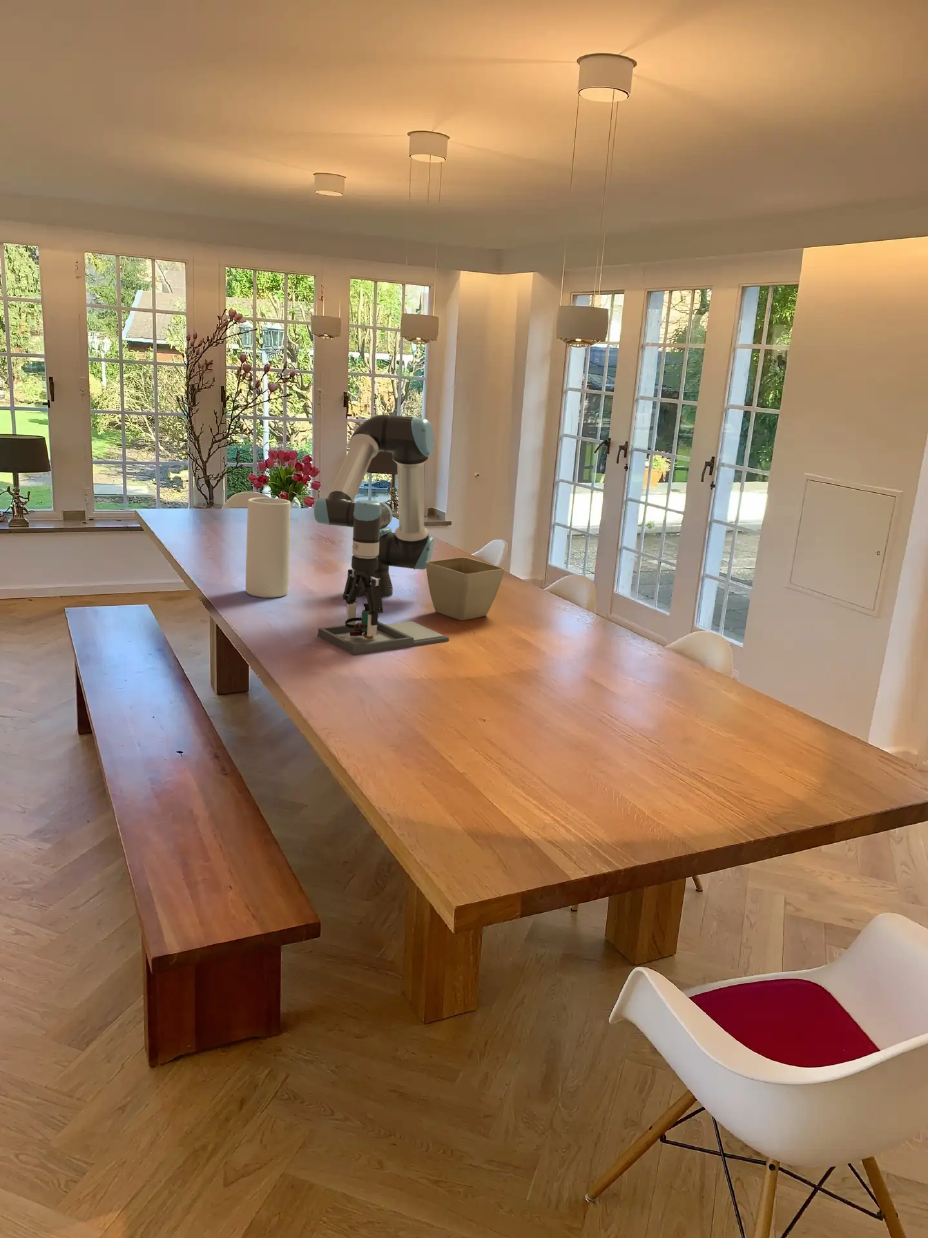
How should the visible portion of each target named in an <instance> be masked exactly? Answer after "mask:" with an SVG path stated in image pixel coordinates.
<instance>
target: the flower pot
mask: <svg viewBox="0 0 928 1238" xmlns="http://www.w3.org/2000/svg"><path fill="white" fill-rule="evenodd" d="M425 570H426V577H427V584H428V589H429V594H430V598H431V601H432V605H433V606H432V607H433V609H434V612H436V613H437V614H441V615H444V616H446V617H450V618H453V619H455V620H459V621H466V620H472V619H477V618H480V617H482V618H483V617H486V616H487V615H488V613H489V612H490V609H491V607H492V605H493V603H494V601H495V599H496V596H497V593H498V591H499V588H500V586H501V583H502V580H503V576H504V572H505V568H504V567H502V566H497V565H496V564H495V565H494V564H491V563H487V562H485V561H480V560H477V559H473V558H470V557H466V556H460V557H453V558H444V559H437V560H430V561H428V562H426V569H425Z"/></svg>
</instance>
